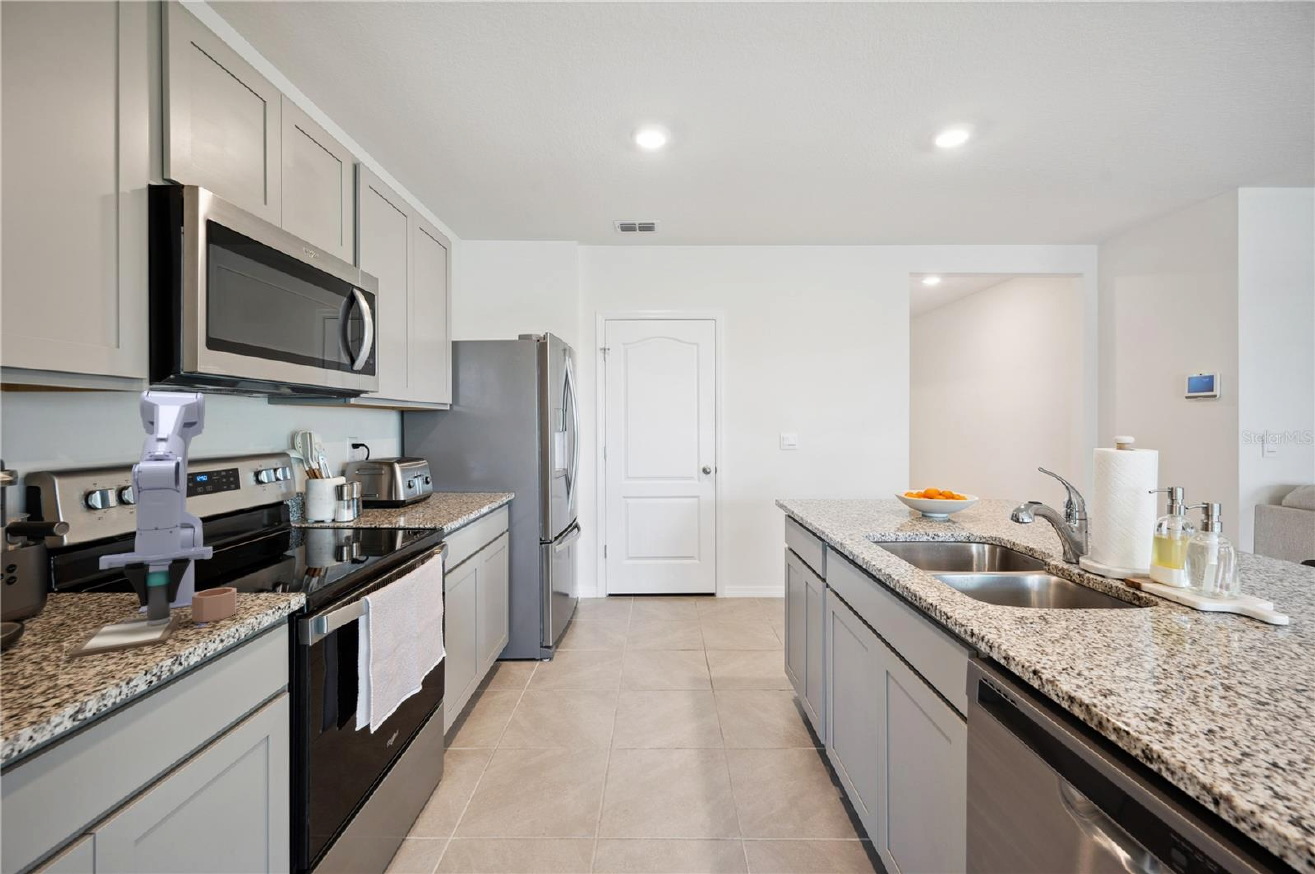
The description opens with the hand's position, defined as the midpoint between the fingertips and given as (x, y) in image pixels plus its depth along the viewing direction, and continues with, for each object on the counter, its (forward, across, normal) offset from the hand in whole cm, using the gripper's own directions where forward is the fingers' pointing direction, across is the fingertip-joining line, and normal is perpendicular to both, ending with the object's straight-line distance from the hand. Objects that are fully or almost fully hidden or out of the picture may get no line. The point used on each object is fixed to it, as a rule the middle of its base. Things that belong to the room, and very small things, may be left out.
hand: (158, 603), depth 94 cm
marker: (+3, 0, 0) cm, 3 cm away
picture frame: (+4, -3, -3) cm, 6 cm away
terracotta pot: (+4, +8, +2) cm, 9 cm away
